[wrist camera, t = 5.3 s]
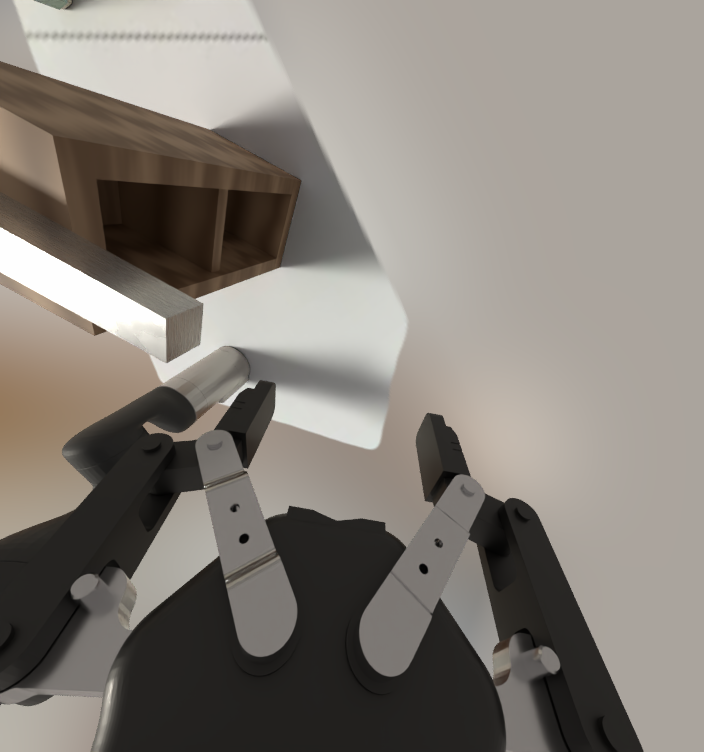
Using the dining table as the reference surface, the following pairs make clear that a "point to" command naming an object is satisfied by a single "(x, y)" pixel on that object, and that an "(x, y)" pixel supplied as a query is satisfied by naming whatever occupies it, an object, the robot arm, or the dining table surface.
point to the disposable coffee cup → (56, 3)
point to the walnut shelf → (140, 187)
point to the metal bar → (96, 283)
